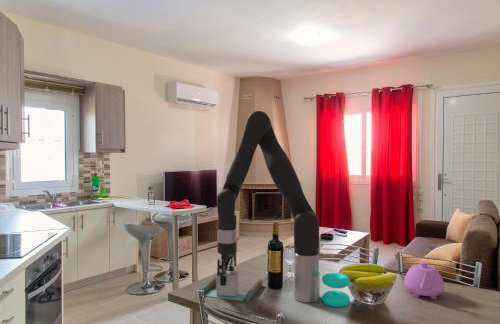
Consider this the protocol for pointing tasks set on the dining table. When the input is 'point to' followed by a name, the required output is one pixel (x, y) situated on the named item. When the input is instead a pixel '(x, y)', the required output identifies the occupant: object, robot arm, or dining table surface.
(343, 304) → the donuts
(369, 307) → the dining table surface
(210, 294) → the front pad
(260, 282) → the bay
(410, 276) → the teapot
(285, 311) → the dining table surface
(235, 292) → the medicine box
